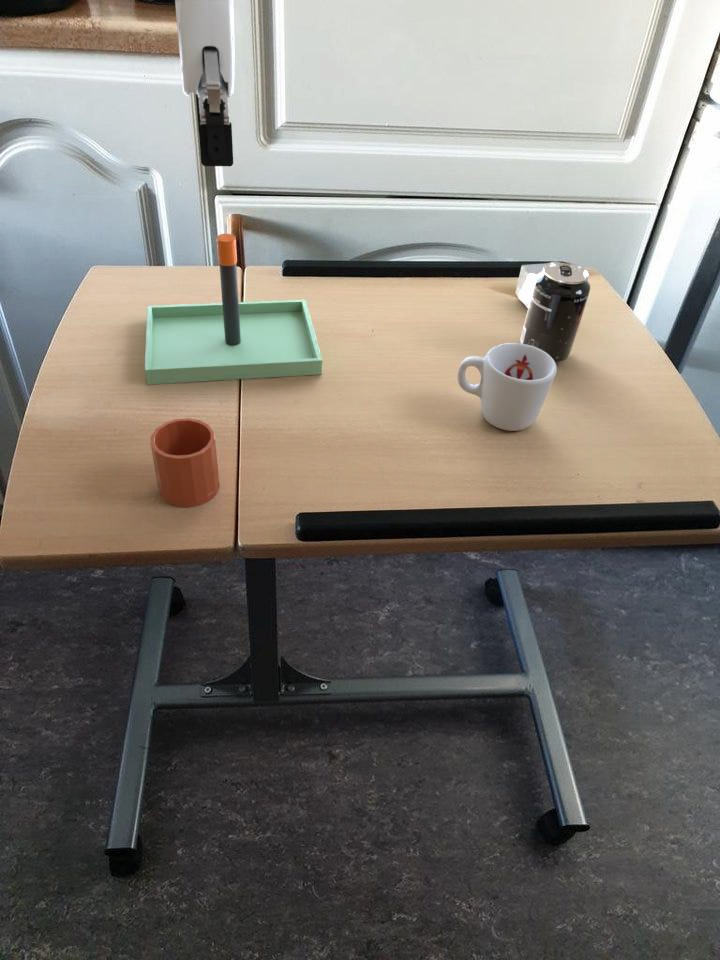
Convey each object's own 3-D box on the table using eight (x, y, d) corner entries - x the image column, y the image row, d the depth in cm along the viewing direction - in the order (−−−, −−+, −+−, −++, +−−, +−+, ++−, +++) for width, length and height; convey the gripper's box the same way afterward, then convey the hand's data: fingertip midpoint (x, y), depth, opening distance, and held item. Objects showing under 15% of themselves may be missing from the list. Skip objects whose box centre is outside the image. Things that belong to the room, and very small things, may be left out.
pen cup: (159, 510, 69) (150, 460, 65) (159, 469, 74) (151, 420, 69) (220, 504, 70) (216, 455, 66) (217, 464, 75) (213, 416, 70)
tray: (146, 384, 84) (144, 370, 83) (149, 319, 95) (147, 305, 94) (322, 374, 88) (322, 360, 87) (305, 313, 99) (305, 299, 97)
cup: (442, 420, 83) (453, 363, 77) (461, 385, 88) (472, 329, 83) (532, 446, 80) (550, 389, 75) (546, 408, 86) (563, 352, 80)
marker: (224, 346, 90) (216, 241, 81) (224, 337, 92) (215, 233, 82) (242, 345, 91) (236, 241, 81) (240, 336, 92) (234, 233, 83)
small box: (547, 291, 108) (555, 261, 105) (564, 309, 104) (573, 279, 101) (513, 293, 107) (520, 263, 104) (529, 312, 103) (537, 281, 100)
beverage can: (566, 344, 97) (591, 263, 89) (570, 372, 92) (596, 288, 84) (517, 338, 98) (537, 256, 89) (517, 364, 93) (539, 280, 84)
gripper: (160, -65, 69) (178, 123, 80) (158, -40, 57) (179, 178, 68) (238, -60, 70) (244, 125, 82) (252, -34, 58) (257, 179, 69)
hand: (215, 149), depth 75 cm, fingers open, 9 cm apart
